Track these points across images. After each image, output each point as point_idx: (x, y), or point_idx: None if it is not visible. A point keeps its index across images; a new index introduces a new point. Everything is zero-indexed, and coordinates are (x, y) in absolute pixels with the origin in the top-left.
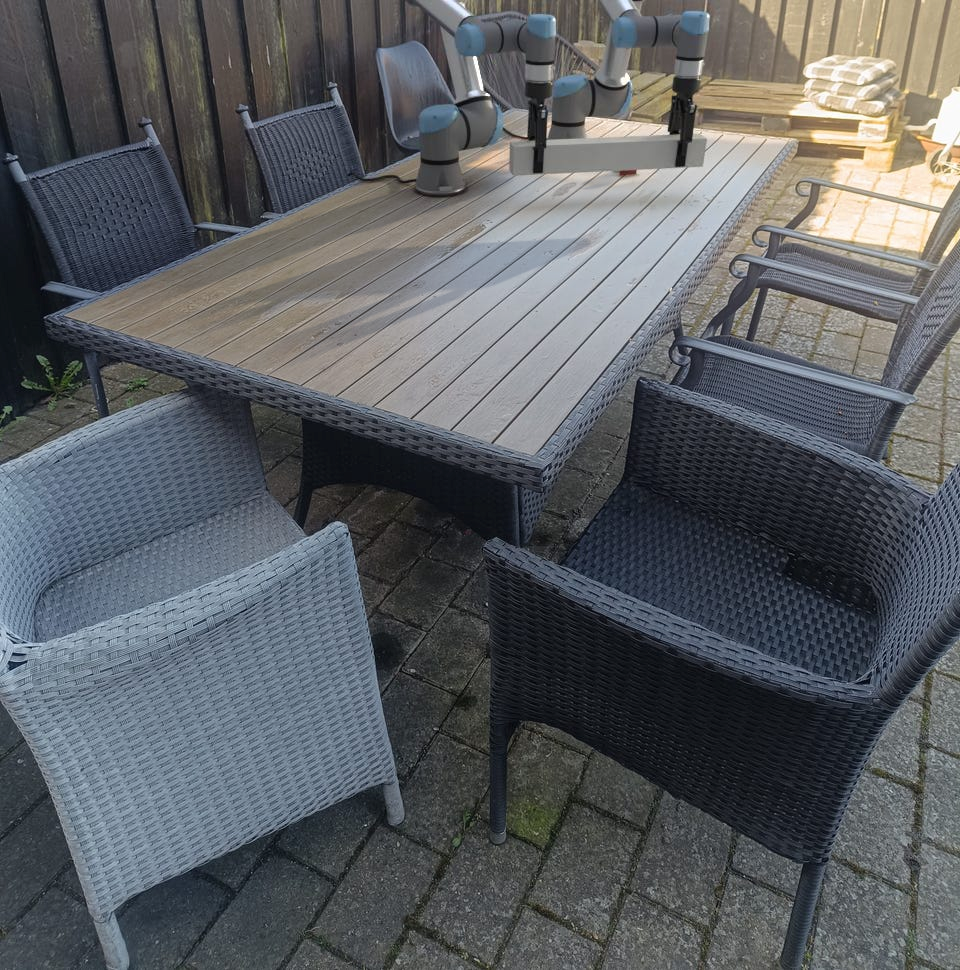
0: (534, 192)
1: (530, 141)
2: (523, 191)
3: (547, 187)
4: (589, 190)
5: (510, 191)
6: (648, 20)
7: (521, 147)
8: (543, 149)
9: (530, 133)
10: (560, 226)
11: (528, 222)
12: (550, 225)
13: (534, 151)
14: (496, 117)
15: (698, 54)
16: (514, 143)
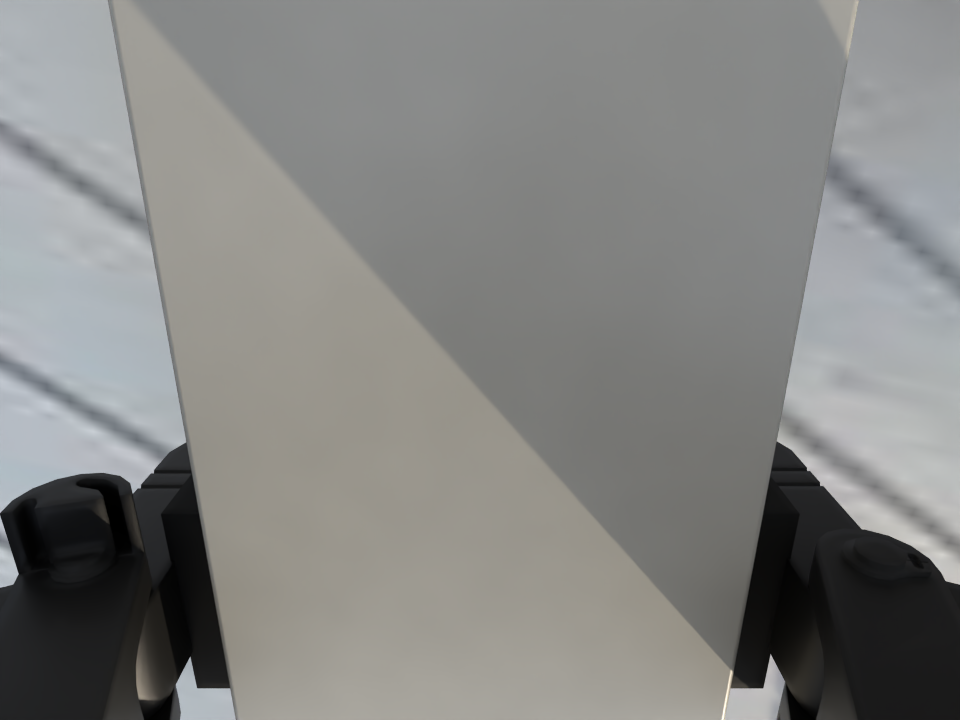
0: (834, 352)
1: (660, 554)
2: (893, 272)
3: (916, 468)
4: (748, 688)
5: (938, 161)
6: None
7: (155, 211)
8: (196, 669)
9: (852, 718)
10: (6, 363)
11: (85, 143)
12: (23, 299)
13: (186, 487)
14: None
15: None
16: (552, 55)
